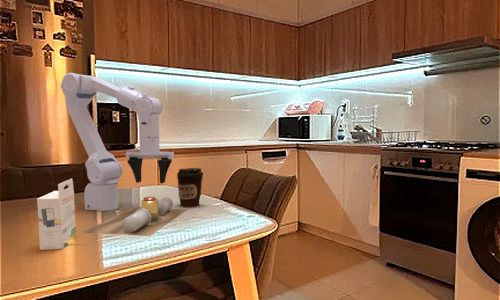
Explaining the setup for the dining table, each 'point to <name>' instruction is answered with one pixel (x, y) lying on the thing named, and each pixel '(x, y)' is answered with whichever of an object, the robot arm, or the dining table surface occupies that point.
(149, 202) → the tan red-topped cylinder
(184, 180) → the coffee cup
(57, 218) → the ink box
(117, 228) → the board
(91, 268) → the dining table surface
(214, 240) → the dining table surface
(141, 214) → the pipe stubs
